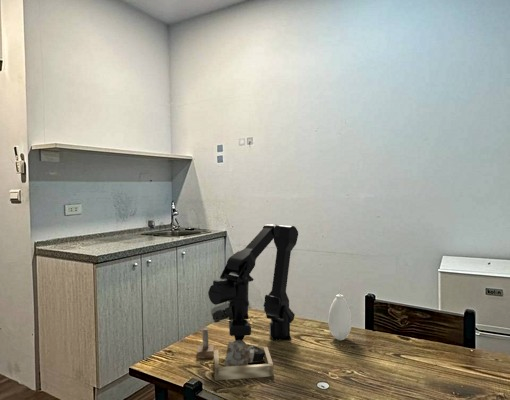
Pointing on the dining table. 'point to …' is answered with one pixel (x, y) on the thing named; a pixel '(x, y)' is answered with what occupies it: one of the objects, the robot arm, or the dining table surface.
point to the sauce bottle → (340, 318)
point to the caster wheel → (242, 354)
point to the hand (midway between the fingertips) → (237, 346)
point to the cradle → (244, 369)
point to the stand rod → (205, 347)
